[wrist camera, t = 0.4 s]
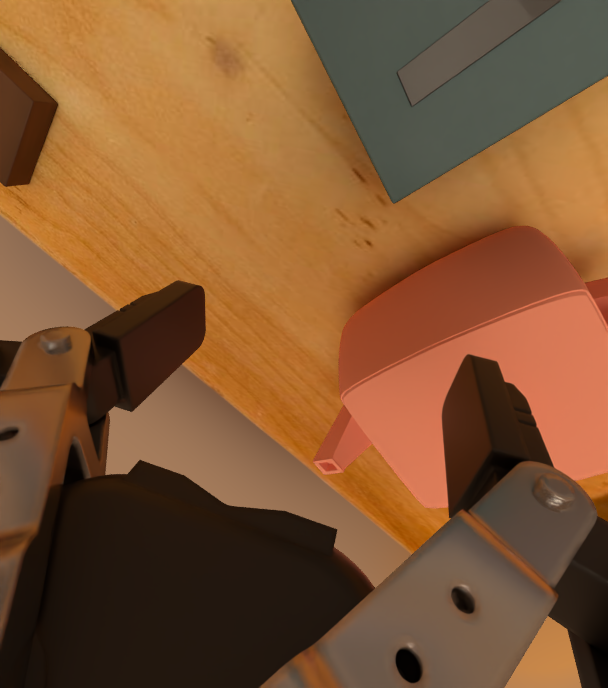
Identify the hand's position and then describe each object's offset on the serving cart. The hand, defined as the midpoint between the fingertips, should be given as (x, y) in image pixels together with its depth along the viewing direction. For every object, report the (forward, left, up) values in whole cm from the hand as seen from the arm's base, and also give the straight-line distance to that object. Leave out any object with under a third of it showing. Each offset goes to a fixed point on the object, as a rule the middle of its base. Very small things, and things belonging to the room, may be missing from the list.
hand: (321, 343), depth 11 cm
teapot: (+7, +8, -19) cm, 21 cm away
